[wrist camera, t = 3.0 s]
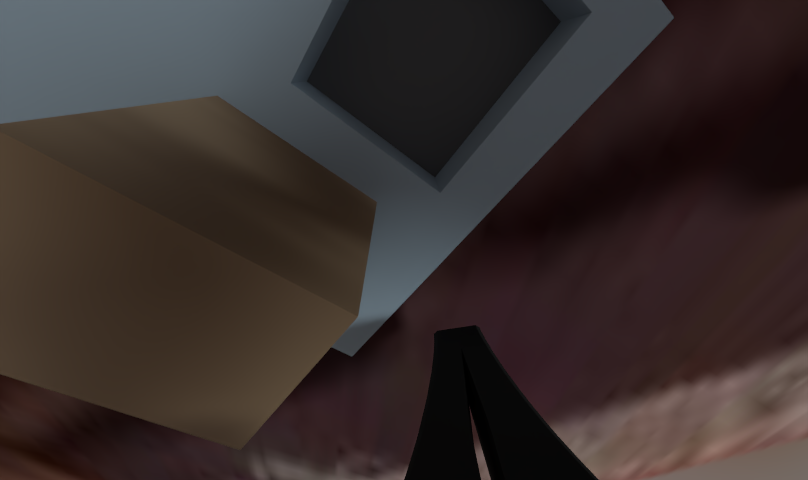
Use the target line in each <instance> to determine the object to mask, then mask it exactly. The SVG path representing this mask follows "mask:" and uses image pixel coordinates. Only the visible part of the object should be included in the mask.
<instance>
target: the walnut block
mask: <svg viewBox="0 0 808 480" xmlns="http://www.w3.org/2000/svg"><path fill="white" fill-rule="evenodd" d="M376 206H377V202H376V201H375V200H373V199H372V198H370V197H369V196H367V195H366V194H364V193H363V192H361V191H360V190H358V189H357V188H355V187H354V186H352V185H351V184H349V183H348V182H346V181H345V180H343V179H342V178H340V177H339V176H337V175H336V174H334V173H333V172H331V171H330V170H328V169H327V168H325V167H324V166H322V165H321V164H319V163H318V162H316V161H315V160H313V159H312V158H310V157H309V156H307V155H306V154H304V153H303V152H301V151H300V150H298V149H297V148H295V147H294V146H292V145H291V144H289V143H288V142H286V141H285V140H283V139H282V138H280V137H279V136H277V135H276V134H274V133H273V132H271V131H270V130H268V129H267V128H265V127H264V126H262V125H261V124H259V123H258V122H256V121H255V120H253V119H252V118H250V117H249V116H247V115H246V114H244V113H243V112H241V111H240V110H238V109H237V108H235V107H234V106H232V105H231V104H229V103H228V102H226V101H225V100H223V99H222V98H220V97H219V96H210V97H203V98H195V99H187V100H180V101H172V102H164V103H156V104H149V105H141V106H133V107H126V108H118V109H110V110H103V111H95V112H87V113H80V114H72V115H64V116H57V117H49V118H41V119H34V120H26V121H18V122H10V123H3V124H0V374H1V375H4V376H7V377H11V378H14V379H17V380H20V381H23V382H26V383H29V384H33V385H36V386H39V387H42V388H45V389H48V390H52V391H55V392H58V393H61V394H64V395H67V396H71V397H74V398H77V399H80V400H83V401H86V402H90V403H93V404H96V405H99V406H102V407H105V408H109V409H112V410H115V411H118V412H121V413H124V414H128V415H131V416H134V417H137V418H140V419H143V420H147V421H150V422H153V423H156V424H159V425H162V426H166V427H169V428H172V429H175V430H178V431H181V432H185V433H188V434H191V435H194V436H197V437H200V438H204V439H207V440H210V441H213V442H216V443H219V444H222V445H226V446H229V447H232V448H235V449H238V450H241V448H242V447H243V446H244V445H245V444H246V443H247V442H248V441H249V439H250V438H251V437H252V436H253V435H254V434H255V433H256V432H257V430H258V429H259V428H260V427H261V426H262V425H263V424H264V422H265V421H266V420H267V419H268V418H269V417H270V416H271V415H272V413H273V412H274V411H275V410H276V409H277V408H278V407H279V406H280V404H281V403H282V402H283V401H284V400H285V399H286V398H287V396H288V395H289V394H290V393H291V392H292V391H293V390H294V389H295V387H296V386H297V385H298V384H299V383H300V382H301V381H302V380H303V378H304V377H305V376H306V375H307V374H308V373H309V372H310V370H311V369H312V368H313V367H314V366H315V365H316V364H317V363H318V361H319V360H320V359H321V358H322V357H323V356H324V355H325V354H326V352H327V351H328V350H329V349H330V348H331V347H332V346H333V344H334V343H335V342H336V341H337V340H338V339H339V338H340V337H341V335H342V334H343V333H344V332H345V331H346V330H347V329H348V328H349V326H350V325H351V324H352V323H353V322H354V321H355V320H356V318H357V317H358V315H359V309H360V302H361V296H362V290H363V284H364V278H365V272H366V266H367V260H368V254H369V248H370V242H371V236H372V230H373V224H374V218H375V212H376Z"/></svg>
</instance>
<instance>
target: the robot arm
mask: <svg viewBox="0 0 808 480" xmlns="http://www.w3.org/2000/svg"><path fill="white" fill-rule="evenodd" d="M469 406H470V409H471V413H472V416H473V420H474V423H475V426H476V430H477V433H478V437H479V440H480V443H481V447H482V450H483V454H484V457H485V460H486V464H487V467H488V471H489V474H490V477H491V480H598V479H597V478H596V477H595V476H594V474H593V473H592V472H591V471H590V470H589V469H588V468H587V467H586V466H585V465H584V464H583V463H582V462H581V461H580V460H579V459H578V458H577V457H576V456H575V454H574V453H573V452H572V451H571V450H570V449H569V448H568V447H567V446H566V445H565V443H564V442H563V441H562V440H561V439H560V438H559V437H558V436H557V435H556V433H555V432H554V431H553V430H552V429H551V428H550V426H549V425H548V424H547V423H546V422H545V421H544V419H543V418H542V417H541V416H540V415H539V413H538V412H537V411H536V410H535V408H534V407H533V406H532V405H531V404H530V402H529V401H528V400H527V399H526V397H525V396H524V395H523V393H522V392H521V391H520V390H519V388H518V387H517V385H516V384H515V383H514V381H513V380H512V379H511V377H510V376H509V375H508V373H507V372H506V371H505V369H504V368H503V366H502V365H501V363H500V362H499V360H498V359H497V357H496V356H495V354H494V353H493V351H492V350H491V348H490V346H489V345H488V343H487V341H486V340H485V338H484V336H483V334H482V332H481V330H480V328H479V327H477V326H476V325H474V326H468V327H461V328H454V329H447V330H441V331H437V332H436V333H435V334H434V357H433V366H432V373H431V379H430V384H429V390H428V395H427V400H426V405H425V409H424V413H423V417H422V421H421V425H420V429H419V433H418V437H417V440H416V444H415V447H414V451H413V454H412V457H411V461H410V464H409V467H408V470H407V473H406V476H405V479H404V480H481V478H480V473H479V468H478V463H477V458H476V454H475V449H474V442H473V434H472V425H471V417H470V409H469Z"/></svg>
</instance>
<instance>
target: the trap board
mask: <svg viewBox="0 0 808 480" xmlns="http://www.w3.org/2000/svg"><path fill="white" fill-rule="evenodd" d="M673 19H674V17H673V15H672V14H671V13H670V11H669V10H668V9H667V7H666V6H665V4H664V3H663V2H662V0H0V124H3V123H10V122H18V121H26V120H34V119H41V118H49V117H57V116H64V115H72V114H80V113H87V112H95V111H103V110H110V109H118V108H126V107H133V106H141V105H149V104H156V103H164V102H172V101H180V100H187V99H195V98H203V97H210V96H219V97H220V98H222V99H223V100H225V101H226V102H228V103H229V104H231V105H232V106H234V107H235V108H237V109H238V110H240V111H241V112H243V113H244V114H246V115H247V116H249V117H250V118H252V119H253V120H255V121H256V122H258V123H259V124H261V125H262V126H264V127H265V128H267V129H268V130H270V131H271V132H273V133H274V134H276V135H277V136H279V137H280V138H282V139H283V140H285V141H286V142H288V143H289V144H291V145H292V146H294V147H295V148H297V149H298V150H300V151H301V152H303V153H304V154H306V155H307V156H309V157H310V158H312V159H313V160H315V161H316V162H318V163H319V164H321V165H322V166H324V167H325V168H327V169H328V170H330V171H331V172H333V173H334V174H336V175H337V176H339V177H340V178H342V179H343V180H345V181H346V182H348V183H349V184H351V185H352V186H354V187H355V188H357V189H358V190H360V191H361V192H363V193H364V194H366V195H367V196H369V197H370V198H372V199H373V200H375V201H376V202H377V206H376V212H375V218H374V224H373V230H372V236H371V242H370V248H369V254H368V260H367V266H366V272H365V278H364V284H363V290H362V296H361V302H360V309H359V315H358V317H357V318H356V320H355V321H354V322H353V323H352V324H351V325H350V326H349V328H348V329H347V330H346V331H345V332H344V333H343V334H342V335H341V337H340V338H339V339H338V340H337V341H336V342H335V343H334V344H333V346H332V348H334V349H337V350H339V351H341V352H343V353H345V354H347V355H349V356H353V355H354V354H355V353H356V352H357V351H358V350H359V349H360V348H361V347H362V346H363V345H364V343H365V342H366V341H367V340H368V339H369V338H370V337H371V336H372V335H373V334H374V333H375V332H376V331H377V330H378V329H379V328H380V327H381V326H382V325H383V324H384V322H385V321H386V320H387V319H388V318H389V317H390V316H391V315H392V314H393V313H394V312H395V311H396V310H397V309H398V308H399V307H400V306H401V305H402V304H403V302H404V301H405V300H406V299H407V298H408V297H409V296H410V295H411V294H412V293H413V292H414V291H415V290H416V289H417V288H418V287H419V286H420V285H421V284H422V282H423V281H424V280H425V279H426V278H427V277H428V276H429V275H430V274H431V273H432V272H433V271H434V270H435V269H436V268H437V267H438V266H439V265H440V264H441V263H442V261H443V260H444V259H445V258H446V257H447V256H448V255H449V254H450V253H451V252H452V251H453V250H454V249H455V248H456V247H457V246H458V245H459V244H460V243H461V241H462V240H463V239H464V238H465V237H466V236H467V235H468V234H469V233H470V232H471V231H472V230H473V229H474V228H475V227H476V226H477V225H478V224H479V223H480V222H481V220H482V219H483V218H484V217H485V216H486V215H487V214H488V213H489V212H490V211H491V210H492V209H493V208H494V207H495V206H496V205H497V204H498V203H499V202H500V200H501V199H502V198H503V197H504V196H505V195H506V194H507V193H508V192H509V191H510V190H511V189H512V188H513V187H514V186H515V185H516V184H517V183H518V182H519V180H520V179H521V178H522V177H523V176H524V175H525V174H526V173H527V172H528V171H529V170H530V169H531V168H532V167H533V166H534V165H535V164H536V163H537V162H538V161H539V159H540V158H541V157H542V156H543V155H544V154H545V153H546V152H547V151H548V150H549V149H550V148H551V147H552V146H553V145H554V144H555V143H556V142H557V141H558V139H559V138H560V137H561V136H562V135H563V134H564V133H565V132H566V131H567V130H568V129H569V128H570V127H571V126H572V125H573V124H574V123H575V122H576V121H577V119H578V118H579V117H580V116H581V115H582V114H583V113H584V112H585V111H586V110H587V109H588V108H589V107H590V106H591V105H592V104H593V103H594V102H595V101H596V100H597V98H598V97H599V96H600V95H601V94H602V93H603V92H604V91H605V90H606V89H607V88H608V87H609V86H610V85H611V84H612V83H613V82H614V81H615V80H616V78H617V77H618V76H619V75H620V74H621V73H622V72H623V71H624V70H625V69H626V68H627V67H628V66H629V65H630V64H631V63H632V62H633V61H634V60H635V59H636V57H637V56H638V55H639V54H640V53H641V52H642V51H643V50H644V49H645V48H646V47H647V46H648V45H649V44H650V43H651V42H652V41H653V40H654V39H655V37H656V36H657V35H658V34H659V33H660V32H661V31H662V30H663V29H664V28H665V27H666V26H667V25H668V24H669V23H670V22H671V21H672V20H673Z"/></svg>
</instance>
